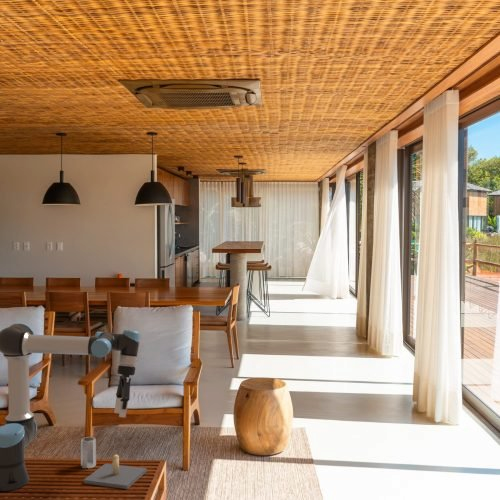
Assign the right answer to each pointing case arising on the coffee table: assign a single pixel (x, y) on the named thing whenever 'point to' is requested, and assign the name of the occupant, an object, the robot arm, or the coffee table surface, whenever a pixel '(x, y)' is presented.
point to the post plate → (115, 475)
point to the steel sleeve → (88, 452)
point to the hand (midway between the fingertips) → (119, 415)
